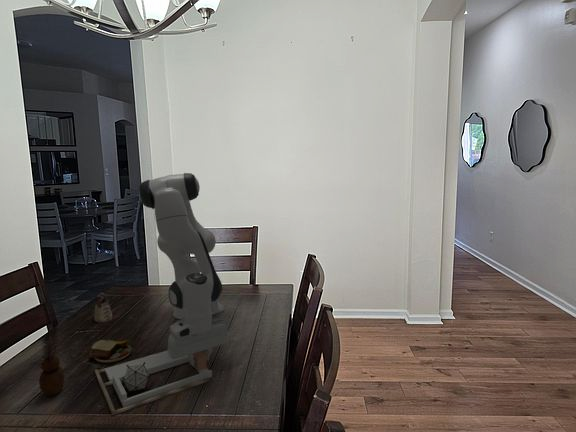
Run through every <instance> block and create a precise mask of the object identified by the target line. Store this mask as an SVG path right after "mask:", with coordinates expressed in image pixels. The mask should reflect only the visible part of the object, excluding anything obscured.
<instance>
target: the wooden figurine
mask: <svg viewBox="0 0 576 432" xmlns="http://www.w3.org/2000/svg"><path fill="white" fill-rule="evenodd" d="M40 363H41V365H40V367H41V370H42V372H41V374H40V376H39V379H38V380H39V381H38V384H39V388H40V390H41V392H42V394H43V395H45V396H47V397H51V396H52V397H53V396H54V395H57V394H58V393H60V392H61V390H63V387H64V383H65V378H66V377H65V372H64V369H63V368H62V367H61V366H60V358H59V356H57V355H54V354H53V353H52V348H51V343H50V342H49V343H48V355H47V356H45V357H44V358H43V359H42V361H41V362H40Z"/></svg>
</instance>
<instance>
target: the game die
mask: <svg viewBox="0 0 576 432" xmlns="http://www.w3.org/2000/svg"><path fill="white" fill-rule="evenodd" d="M144 364H145V362H144V363H143V365H137V366H130V367H129V366H128V365H127V367H128V369H127V372H126V375H125V377H124V378H123V380H122V381H121V382H124V385H125V387H126V389H127V390H128V391H127V395H129V394H130V393H131V392H135V391H141V390H143V391H144V392H147V389H146V387H147V383H148V380H149V379H150V378H151V377H152V376H151V375H152V374H151V373H150V374H149V373H148V371H147V369H146V368H145V366H144Z"/></svg>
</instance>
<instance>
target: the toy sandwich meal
mask: <svg viewBox="0 0 576 432" xmlns="http://www.w3.org/2000/svg"><path fill="white" fill-rule="evenodd" d="M129 343H130V339H128V340H123V341H118V340H116V341H115V340H112V339H107V340H105V339H100V340H98V341H96V342H94V343H93V345H92V346H91V349H90V351H89V358H91V359H94V360H95V361H97V362H98V363H101V364H109V363H110V364H113V363H116V362H120V361H121V360H124V359H126V358H127V357H129V355H130V354H131V353H132V351H133V348H132V347H131V346H130V345H129Z"/></svg>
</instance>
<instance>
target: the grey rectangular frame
mask: <svg viewBox="0 0 576 432" xmlns="http://www.w3.org/2000/svg"><path fill="white" fill-rule="evenodd" d="M191 357H192V358H195V359H196V363H197V364H196V365H193V366H192V367H193V368H194V369H195V371H196V372H197V374H195V375H192V376H189V377H186V378H182V379H180V380H177V381H174V382H171V383H167V384H165V385H162V386H159V387H156V388H153V389H150V390H146V391H144V392H142V393H139V394H136V395H133V396H130V397H128V392H127V391H126V390H125V388H124V386H123V383H124V382H121V381H122V380H123V378H124V377H125V375H126V374H125V375H121V376H118V375H117V374H115V375H113V378H112V382H113V384H112V385H113V388H114V390H115V392H116V395H117V396H118V398H119V401H120V403H121V405H122V408H123V407H126V406H129V405H132V404H135V403H138V402H140V401H143V400H146V399H149V398H152V397H155V396H158V395H160V394H163V393H166V392H169V391H172V390H175V389H177V388H180V387H183V386H186V385H189V384H192V383H194V382H197V381H200V380H203V379H206V378H209V379H210V378H213V371H212V369H208V367H207V366H208V365H207V364H208V363H207V361H206V355H205V353H204V352H203V351H200V352H196V353H193V356H191ZM186 363H189V364H190V365H191V363H190V358H189V357H188V356H183V357H180V358H177V359H174V360H170V361H167V362H164V363H160V364H157V365H154V366H151V367H147V368H146V369H147V371H148V373H149V374H150V373H151V375H152V374H155V373H159V372H160V371H164V370H167V369H171V368H173V367H177V366H180V365H183V364H186Z"/></svg>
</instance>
